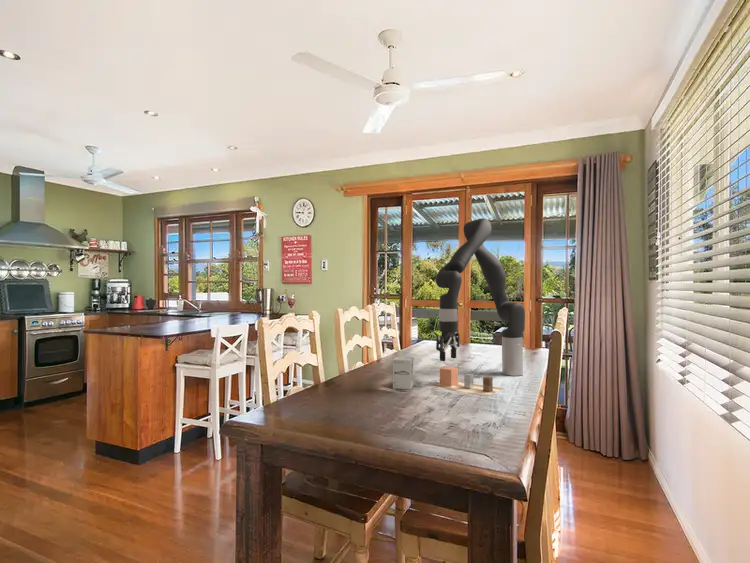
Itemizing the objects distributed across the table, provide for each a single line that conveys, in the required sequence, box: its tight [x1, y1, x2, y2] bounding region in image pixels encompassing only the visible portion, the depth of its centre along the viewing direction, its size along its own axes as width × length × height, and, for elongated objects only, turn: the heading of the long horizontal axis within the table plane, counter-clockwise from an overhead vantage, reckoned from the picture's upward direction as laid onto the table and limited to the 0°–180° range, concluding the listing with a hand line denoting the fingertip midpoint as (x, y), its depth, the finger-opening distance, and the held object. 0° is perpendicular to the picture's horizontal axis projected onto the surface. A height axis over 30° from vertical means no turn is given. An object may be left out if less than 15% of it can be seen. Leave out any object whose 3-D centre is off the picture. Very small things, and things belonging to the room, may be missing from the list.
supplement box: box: [392, 356, 414, 393], centre depth 165 cm, size 7×7×13 cm
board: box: [431, 380, 504, 398], centre depth 163 cm, size 15×24×1 cm, turn 49°
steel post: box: [463, 373, 474, 389], centre depth 163 cm, size 3×3×5 cm
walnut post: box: [482, 376, 494, 392], centre depth 157 cm, size 3×3×5 cm
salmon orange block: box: [439, 365, 459, 386], centre depth 169 cm, size 5×5×7 cm
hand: (448, 359), depth 169 cm, fingers open, 8 cm apart
